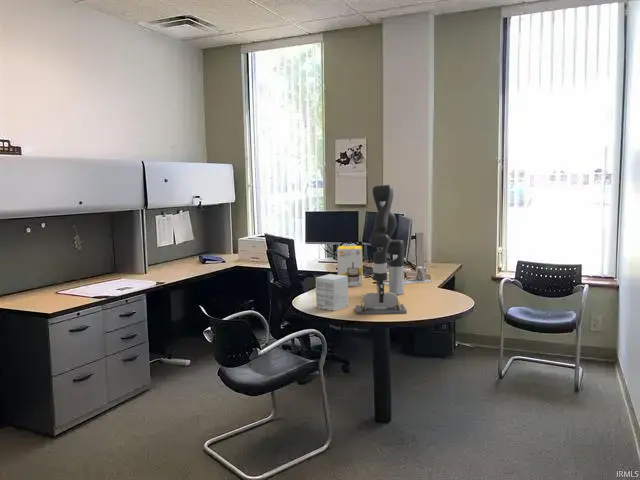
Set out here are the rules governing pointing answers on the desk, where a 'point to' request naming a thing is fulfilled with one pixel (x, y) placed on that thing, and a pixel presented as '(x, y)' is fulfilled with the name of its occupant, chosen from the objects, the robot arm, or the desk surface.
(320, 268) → the desk surface
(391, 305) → the grey piece
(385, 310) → the standoff plate
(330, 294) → the supplement box
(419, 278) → the monument
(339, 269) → the packaging box
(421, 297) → the desk surface
